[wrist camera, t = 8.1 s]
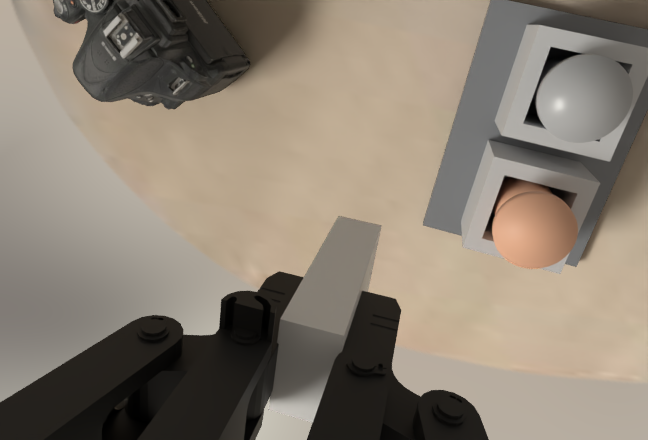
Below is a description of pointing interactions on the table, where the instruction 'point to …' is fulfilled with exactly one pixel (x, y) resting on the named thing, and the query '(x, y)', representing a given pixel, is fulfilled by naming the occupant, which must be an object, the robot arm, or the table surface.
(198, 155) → the table surface
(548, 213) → the plug terracotta
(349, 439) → the robot arm
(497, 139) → the panel
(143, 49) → the camera
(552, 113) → the plug grey
